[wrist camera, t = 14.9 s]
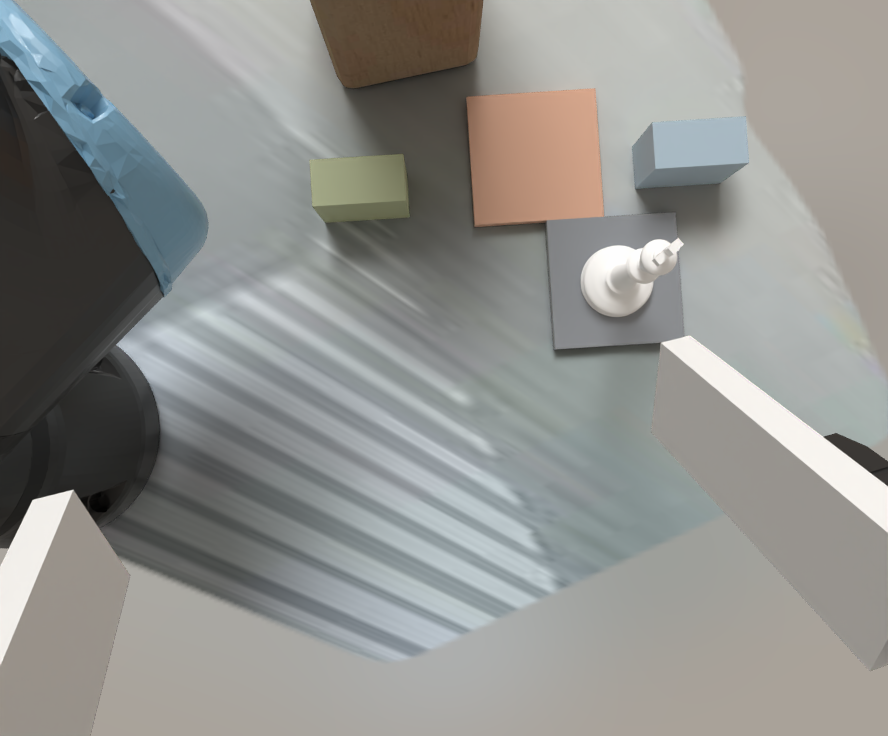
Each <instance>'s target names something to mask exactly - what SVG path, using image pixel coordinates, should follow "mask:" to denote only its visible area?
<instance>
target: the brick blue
mask: <svg viewBox="0 0 888 736" xmlns="http://www.w3.org/2000/svg"><path fill="white" fill-rule="evenodd" d="M632 151H633V165H634V180H635V189H640V188H655V187H671V186H687V185H702V184H718V183H721V182H722V181H724V180H725V179H727V178H728V177H730V176H731V175H732V174H734V173H735V172H737V171H738V170H740V169H741V168H742V167H744V166H745V165H747V164H748V163H749V154H748V140H747V126H746V116H743V117H728V118H712V119H696V120H681V121H665V122H652V123H651V125H650V126H649V127H648V128H647V129H646V131H645V132H644V133H643V134H642V135H641V137H640V138H639V139H638V140H637V142H636V143H635V144H634V145H633V146H632Z"/></svg>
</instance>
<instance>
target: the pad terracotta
mask: <svg viewBox="0 0 888 736" xmlns="http://www.w3.org/2000/svg"><path fill="white" fill-rule="evenodd" d="M466 104H467V119H468V135H469V150H470V165H471V181H472V196H473V211H474V227H484V226H500V225H515V224H531V223H545V222H546V221H547V220H559V219H574V218H590V217H604V209H603V195H602V180H601V165H600V151H599V136H598V121H597V107H596V92H595V89H579V90H563V91H548V92H532V93H517V94H501V95H485V96H470V97H467V98H466Z"/></svg>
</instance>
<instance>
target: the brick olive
mask: <svg viewBox="0 0 888 736" xmlns="http://www.w3.org/2000/svg"><path fill="white" fill-rule="evenodd" d="M310 176H311V192H312V207H313V208H314V209H315V210H316V212H317V213H318V214H319V216H320V217H321V218H322V219H323V221H324V222H325V223H329V222H345V221H361V220H376V219H392V218H407V217H410V213H409V197H408V182H407V172H406V167H405V161H404V156H403V154H393V155H378V156H362V157H346V158H331V159H315V160H310Z"/></svg>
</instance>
